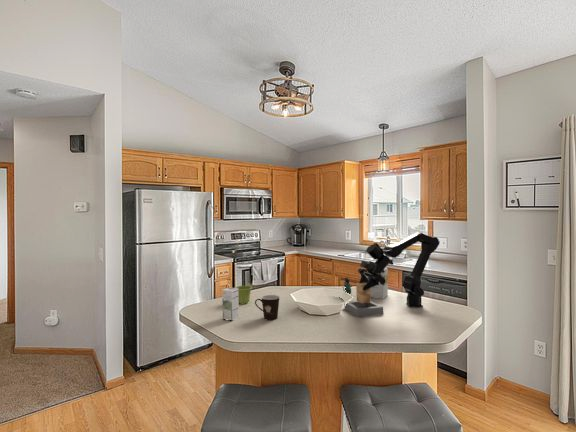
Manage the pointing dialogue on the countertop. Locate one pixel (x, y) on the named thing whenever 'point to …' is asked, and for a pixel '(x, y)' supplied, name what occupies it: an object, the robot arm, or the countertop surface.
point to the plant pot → (244, 294)
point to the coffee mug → (269, 306)
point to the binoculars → (347, 286)
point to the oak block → (362, 293)
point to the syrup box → (230, 303)
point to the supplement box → (380, 287)
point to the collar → (364, 308)
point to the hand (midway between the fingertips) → (360, 288)
